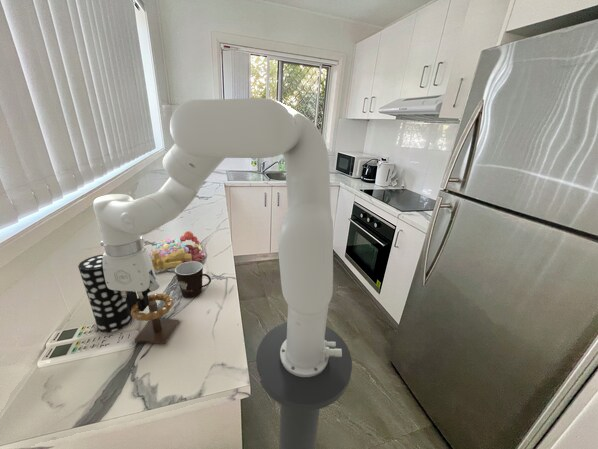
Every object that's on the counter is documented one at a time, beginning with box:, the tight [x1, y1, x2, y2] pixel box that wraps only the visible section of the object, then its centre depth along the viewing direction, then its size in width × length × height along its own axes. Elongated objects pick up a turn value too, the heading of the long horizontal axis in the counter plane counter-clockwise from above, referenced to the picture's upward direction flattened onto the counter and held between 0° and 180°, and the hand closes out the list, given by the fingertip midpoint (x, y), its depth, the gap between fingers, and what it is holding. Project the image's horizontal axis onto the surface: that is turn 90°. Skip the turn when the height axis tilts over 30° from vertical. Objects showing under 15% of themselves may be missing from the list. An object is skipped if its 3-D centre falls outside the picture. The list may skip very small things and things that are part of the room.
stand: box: [133, 300, 180, 345], centre depth 66 cm, size 8×8×10 cm
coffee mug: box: [174, 261, 212, 299], centre depth 82 cm, size 12×9×10 cm
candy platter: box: [148, 230, 205, 274], centre depth 104 cm, size 25×24×9 cm
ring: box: [131, 293, 174, 322], centre depth 65 cm, size 10×10×2 cm
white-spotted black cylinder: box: [77, 253, 134, 333], centre depth 67 cm, size 8×8×20 cm
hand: (139, 307), depth 65 cm, fingers closed on ring, 2 cm apart
